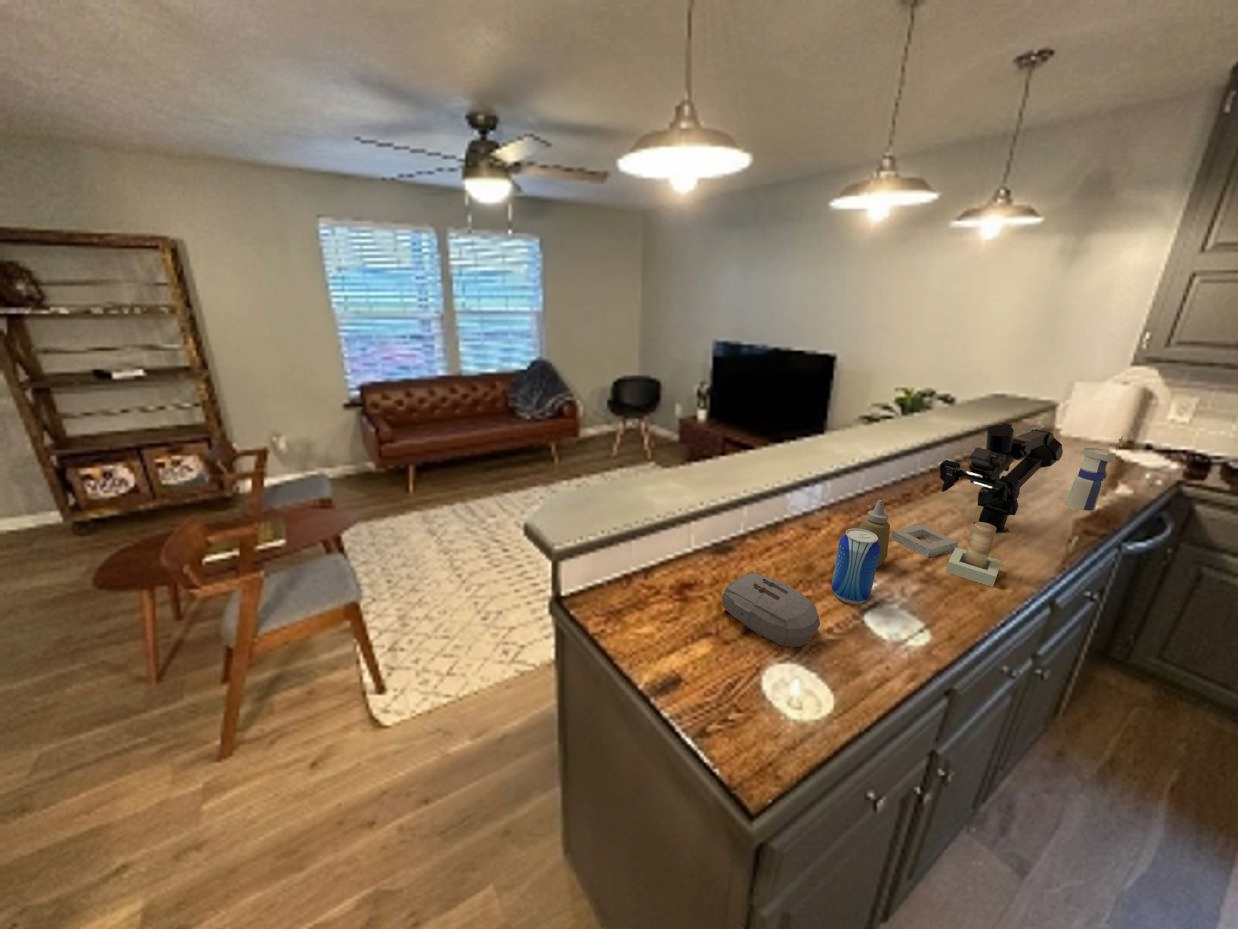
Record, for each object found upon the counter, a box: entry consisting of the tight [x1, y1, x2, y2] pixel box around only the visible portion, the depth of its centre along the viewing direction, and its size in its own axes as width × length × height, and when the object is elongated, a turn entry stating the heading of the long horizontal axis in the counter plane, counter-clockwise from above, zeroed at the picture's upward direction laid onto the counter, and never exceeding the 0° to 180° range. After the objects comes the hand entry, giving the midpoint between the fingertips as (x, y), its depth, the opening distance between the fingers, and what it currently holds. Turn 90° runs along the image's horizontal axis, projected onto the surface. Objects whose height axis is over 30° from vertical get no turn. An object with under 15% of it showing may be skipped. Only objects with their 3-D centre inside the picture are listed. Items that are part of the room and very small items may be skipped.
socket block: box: [890, 524, 959, 559], centre depth 140 cm, size 12×12×2 cm
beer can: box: [830, 527, 881, 605], centre depth 114 cm, size 8×8×16 cm
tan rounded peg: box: [963, 521, 997, 569], centre depth 125 cm, size 4×4×13 cm
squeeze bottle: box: [859, 499, 891, 569], centre depth 127 cm, size 8×8×18 cm
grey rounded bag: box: [721, 572, 821, 648], centre depth 106 cm, size 15×8×20 cm
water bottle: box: [1064, 436, 1125, 512], centre depth 162 cm, size 8×9×25 cm
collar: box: [945, 547, 1002, 588], centre depth 126 cm, size 10×10×3 cm
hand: (960, 496), depth 132 cm, fingers open, 9 cm apart
